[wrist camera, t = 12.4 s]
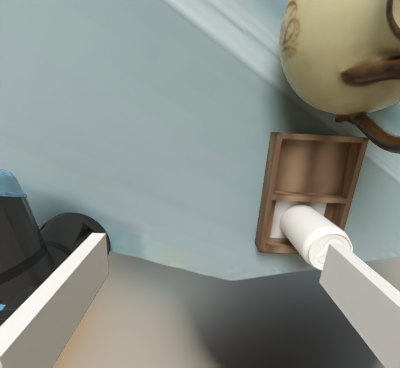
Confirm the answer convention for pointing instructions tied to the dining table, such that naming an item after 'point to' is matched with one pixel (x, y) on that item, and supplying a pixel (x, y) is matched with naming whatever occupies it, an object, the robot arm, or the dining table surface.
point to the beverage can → (311, 234)
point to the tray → (307, 182)
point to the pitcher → (345, 59)
